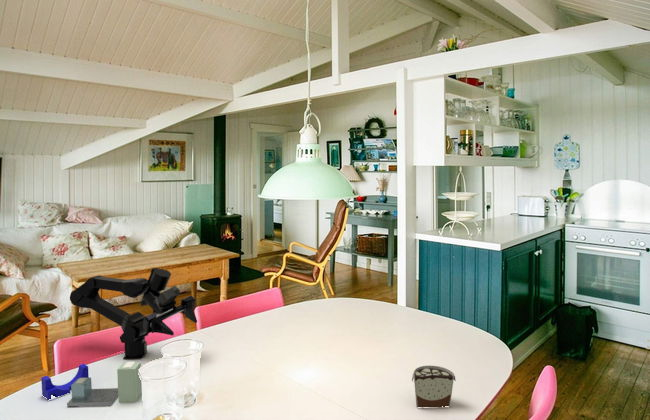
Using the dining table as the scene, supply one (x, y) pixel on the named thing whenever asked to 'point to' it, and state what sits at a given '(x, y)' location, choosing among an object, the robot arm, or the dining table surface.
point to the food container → (433, 386)
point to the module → (129, 382)
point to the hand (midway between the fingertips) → (185, 327)
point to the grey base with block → (91, 394)
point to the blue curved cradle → (60, 390)
